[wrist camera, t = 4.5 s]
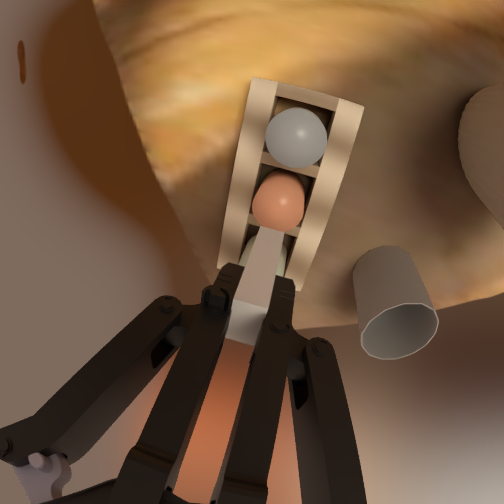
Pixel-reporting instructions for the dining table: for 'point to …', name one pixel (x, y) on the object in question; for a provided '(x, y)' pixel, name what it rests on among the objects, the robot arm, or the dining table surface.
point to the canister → (484, 147)
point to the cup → (392, 304)
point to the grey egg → (296, 137)
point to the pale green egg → (281, 259)
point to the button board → (256, 153)
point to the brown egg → (279, 201)
